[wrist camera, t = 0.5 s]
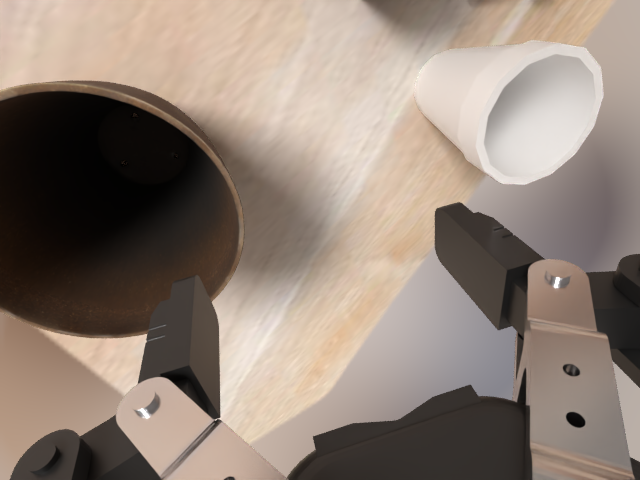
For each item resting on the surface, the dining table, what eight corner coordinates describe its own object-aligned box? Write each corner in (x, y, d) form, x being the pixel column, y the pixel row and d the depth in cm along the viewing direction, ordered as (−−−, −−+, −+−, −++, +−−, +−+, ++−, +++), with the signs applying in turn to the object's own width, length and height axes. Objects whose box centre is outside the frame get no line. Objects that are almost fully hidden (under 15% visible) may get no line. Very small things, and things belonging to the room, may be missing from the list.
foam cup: (504, 38, 35) (629, 55, 25) (471, 137, 40) (564, 186, 29) (412, 23, 33) (507, 34, 22) (388, 130, 38) (457, 181, 27)
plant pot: (72, 3, 27) (-64, 5, 14) (261, 104, 34) (290, 171, 20) (26, 180, 32) (-103, 302, 19) (197, 238, 39) (187, 359, 26)
